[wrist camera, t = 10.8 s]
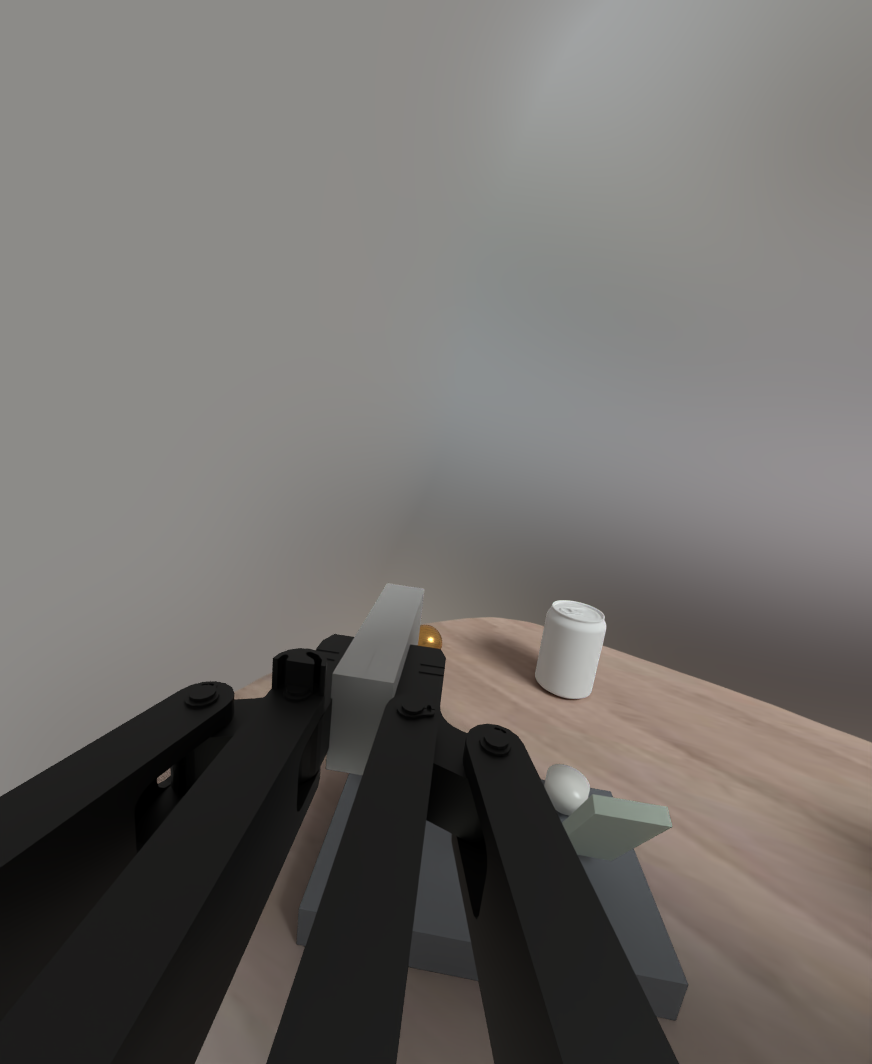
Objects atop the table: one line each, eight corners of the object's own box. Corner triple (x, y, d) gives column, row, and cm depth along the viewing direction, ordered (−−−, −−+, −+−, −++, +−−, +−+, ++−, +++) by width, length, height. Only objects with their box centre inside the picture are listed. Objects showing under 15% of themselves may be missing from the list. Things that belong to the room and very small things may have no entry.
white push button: (579, 784, 37) (583, 767, 37) (590, 819, 34) (595, 801, 34) (540, 777, 38) (543, 761, 37) (547, 811, 34) (551, 793, 34)
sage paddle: (608, 844, 31) (667, 806, 24) (611, 860, 30) (672, 827, 24) (550, 833, 31) (592, 794, 25) (551, 850, 31) (595, 813, 24)
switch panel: (603, 817, 39) (610, 791, 38) (675, 1020, 25) (688, 984, 24) (356, 774, 40) (358, 748, 39) (296, 944, 26) (298, 908, 26)
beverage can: (599, 705, 56) (618, 625, 54) (542, 699, 56) (558, 619, 54) (579, 673, 64) (595, 602, 62) (528, 667, 64) (542, 596, 62)
